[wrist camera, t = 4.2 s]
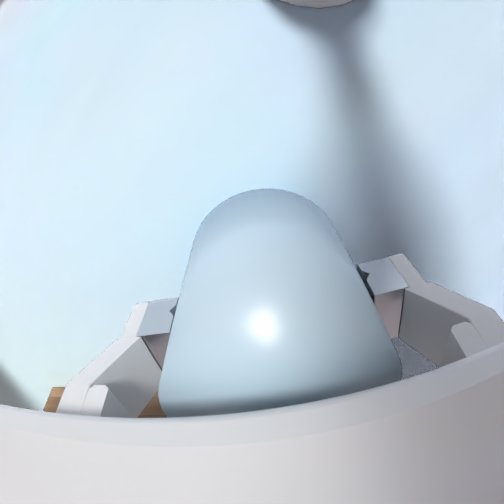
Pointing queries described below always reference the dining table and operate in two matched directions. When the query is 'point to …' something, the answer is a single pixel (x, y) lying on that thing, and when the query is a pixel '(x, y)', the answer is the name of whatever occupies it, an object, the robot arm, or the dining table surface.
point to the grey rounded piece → (271, 314)
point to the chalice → (317, 3)
